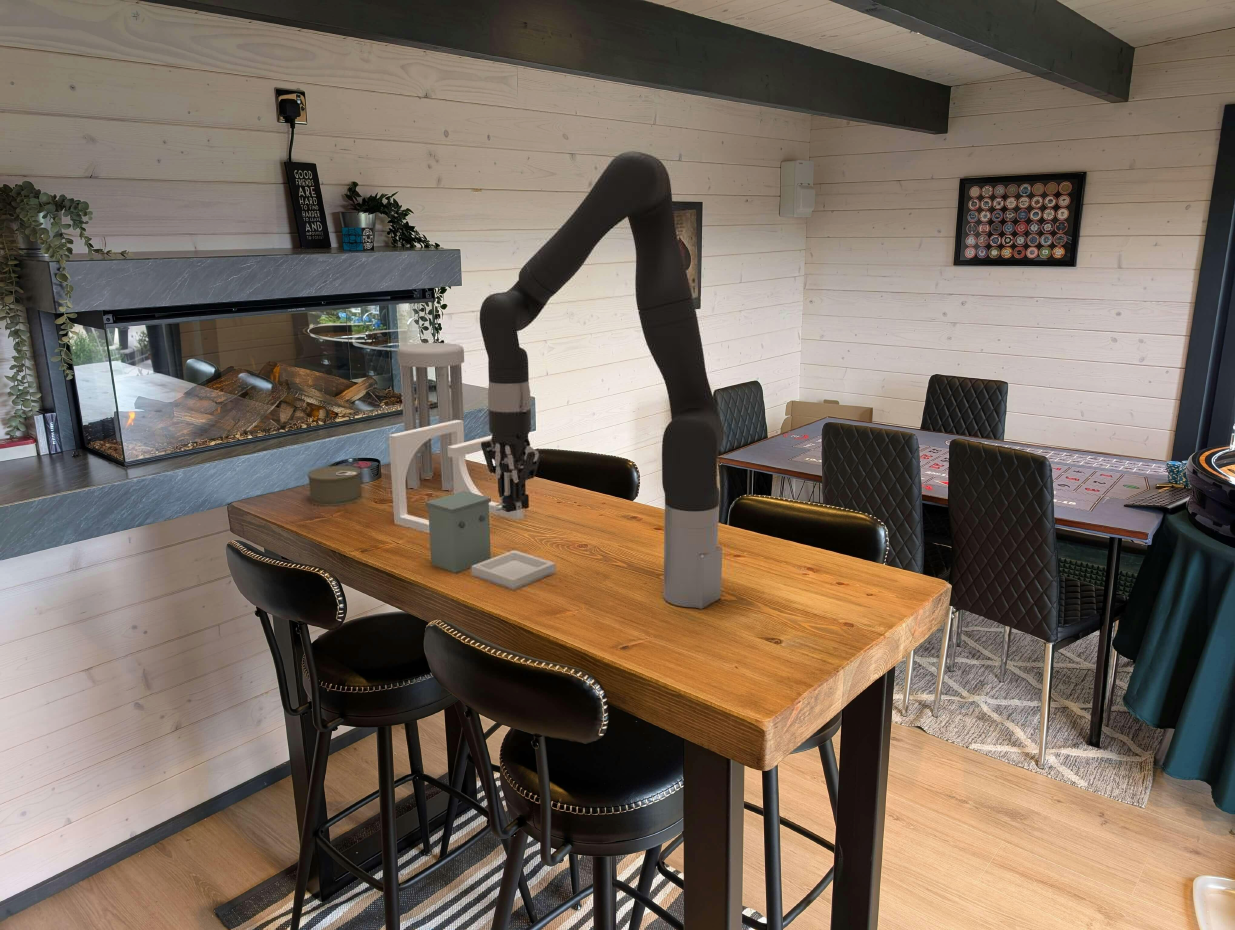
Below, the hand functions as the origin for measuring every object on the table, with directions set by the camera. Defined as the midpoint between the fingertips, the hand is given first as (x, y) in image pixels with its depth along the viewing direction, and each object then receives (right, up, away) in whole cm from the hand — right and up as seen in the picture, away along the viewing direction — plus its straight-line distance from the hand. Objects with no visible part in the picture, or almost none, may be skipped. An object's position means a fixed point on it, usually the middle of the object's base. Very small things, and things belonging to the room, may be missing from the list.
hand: (512, 498), depth 161 cm
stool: (-27, +1, +63) cm, 69 cm away
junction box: (-11, -13, +10) cm, 20 cm away
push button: (0, -2, +1) cm, 2 cm away
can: (-48, -2, +50) cm, 70 cm away
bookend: (-16, -6, +35) cm, 39 cm away
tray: (0, -14, +4) cm, 15 cm away
